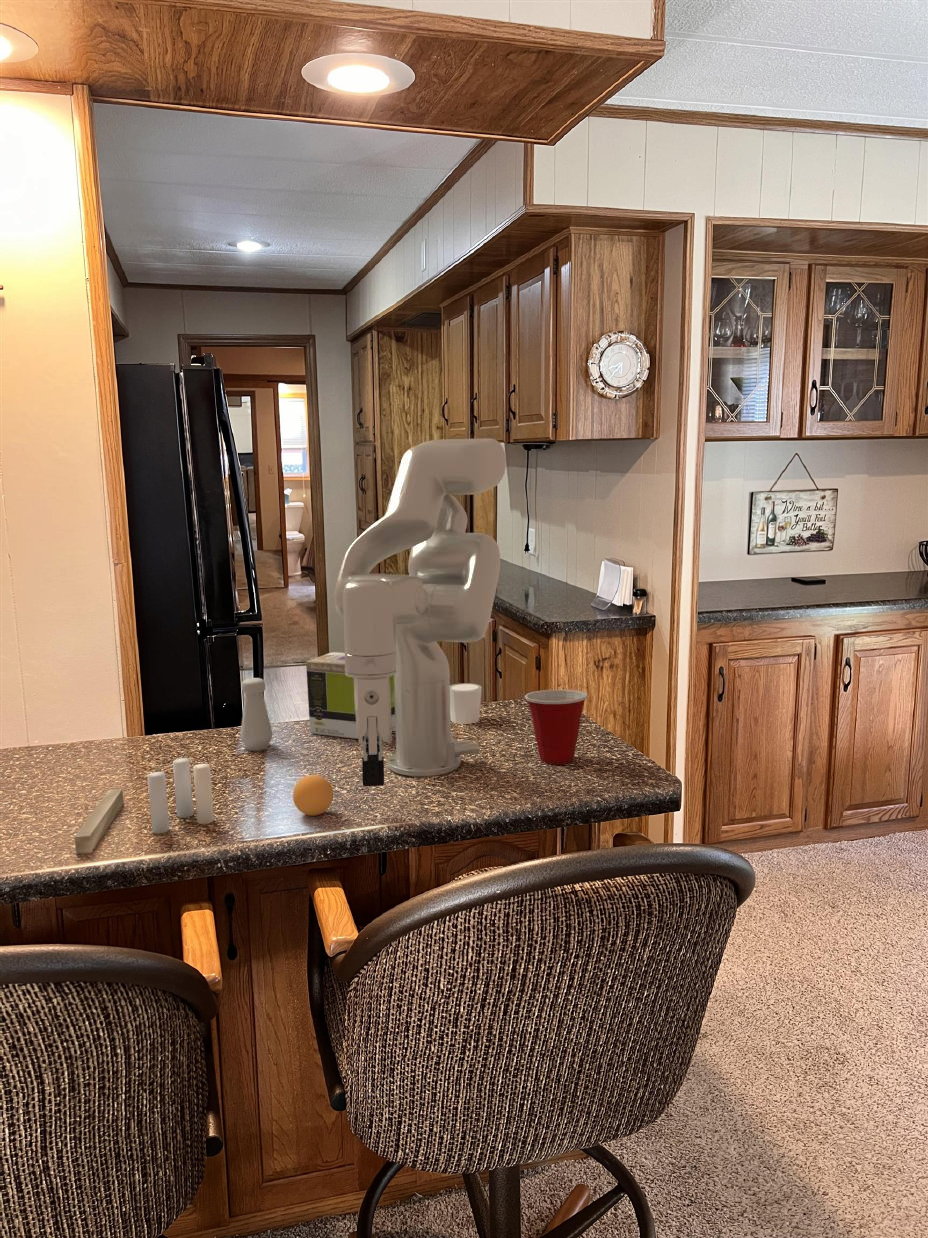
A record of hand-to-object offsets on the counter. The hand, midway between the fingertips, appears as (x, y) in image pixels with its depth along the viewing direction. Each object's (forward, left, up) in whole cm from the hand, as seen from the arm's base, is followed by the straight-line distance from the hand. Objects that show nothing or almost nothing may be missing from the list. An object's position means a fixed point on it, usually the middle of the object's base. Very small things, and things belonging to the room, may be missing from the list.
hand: (373, 784), depth 138 cm
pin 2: (+29, -4, -5) cm, 29 cm away
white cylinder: (-19, -45, -5) cm, 49 cm away
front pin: (+25, -1, -5) cm, 26 cm away
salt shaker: (+21, -35, -5) cm, 41 cm away
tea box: (+3, -42, -5) cm, 42 cm away
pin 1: (+31, +1, -5) cm, 31 cm away
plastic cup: (-32, -19, -5) cm, 37 cm away
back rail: (+40, -1, -5) cm, 40 cm away
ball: (+9, -1, -2) cm, 9 cm away
